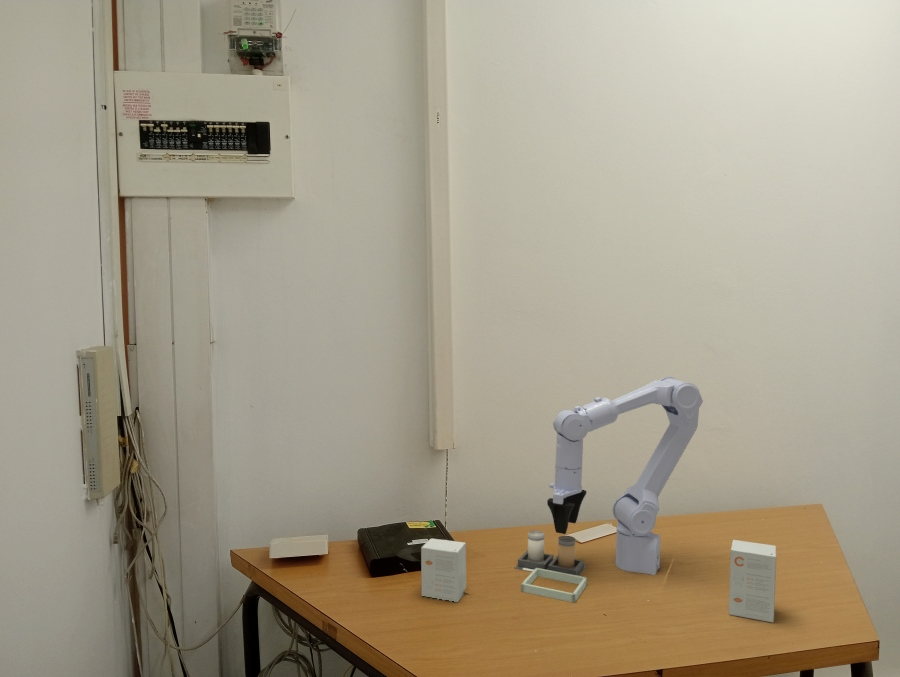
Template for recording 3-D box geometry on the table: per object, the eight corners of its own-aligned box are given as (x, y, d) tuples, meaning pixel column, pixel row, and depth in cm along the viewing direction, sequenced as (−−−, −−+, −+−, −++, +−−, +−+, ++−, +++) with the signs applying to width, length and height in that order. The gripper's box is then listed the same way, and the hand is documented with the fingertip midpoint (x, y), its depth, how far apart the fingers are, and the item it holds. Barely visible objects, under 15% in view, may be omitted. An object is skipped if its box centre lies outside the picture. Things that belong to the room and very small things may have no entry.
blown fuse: (576, 568, 155) (577, 537, 155) (571, 574, 152) (572, 542, 151) (560, 565, 157) (561, 534, 156) (555, 571, 154) (556, 539, 153)
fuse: (546, 562, 158) (546, 532, 158) (540, 568, 155) (541, 537, 154) (530, 559, 160) (531, 529, 159) (525, 565, 157) (525, 534, 156)
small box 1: (466, 591, 146) (467, 542, 145) (458, 603, 140) (458, 552, 139) (430, 586, 148) (430, 537, 147) (420, 597, 143) (420, 546, 142)
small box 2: (774, 609, 139) (777, 545, 137) (773, 623, 133) (777, 556, 132) (729, 601, 142) (732, 538, 141) (727, 615, 136) (730, 549, 135)
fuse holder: (587, 569, 157) (587, 558, 157) (575, 585, 149) (576, 573, 149) (527, 558, 163) (527, 547, 163) (513, 572, 155) (513, 561, 155)
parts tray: (586, 589, 147) (587, 577, 147) (574, 607, 139) (574, 595, 139) (535, 578, 152) (535, 567, 152) (520, 595, 144) (521, 584, 143)
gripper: (560, 456, 161) (558, 514, 162) (540, 471, 148) (537, 534, 149) (591, 461, 158) (588, 520, 159) (572, 476, 145) (570, 540, 146)
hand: (566, 527), depth 154 cm, fingers open, 7 cm apart
